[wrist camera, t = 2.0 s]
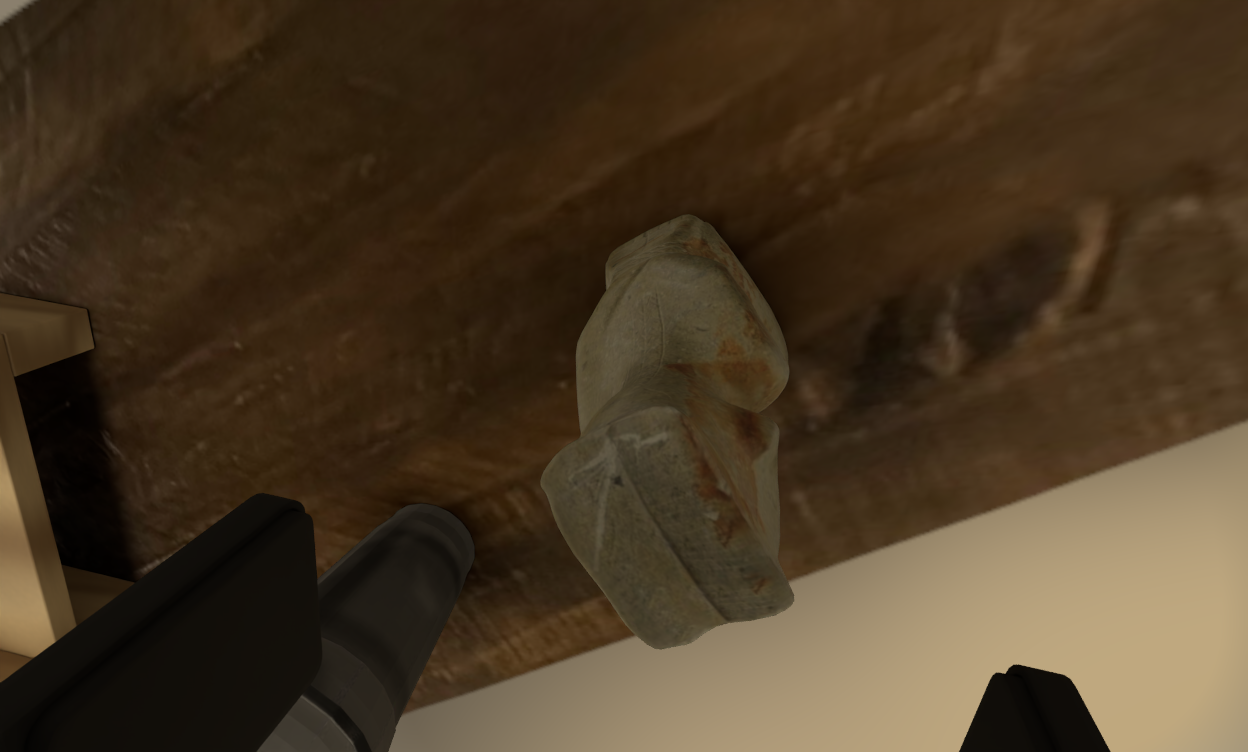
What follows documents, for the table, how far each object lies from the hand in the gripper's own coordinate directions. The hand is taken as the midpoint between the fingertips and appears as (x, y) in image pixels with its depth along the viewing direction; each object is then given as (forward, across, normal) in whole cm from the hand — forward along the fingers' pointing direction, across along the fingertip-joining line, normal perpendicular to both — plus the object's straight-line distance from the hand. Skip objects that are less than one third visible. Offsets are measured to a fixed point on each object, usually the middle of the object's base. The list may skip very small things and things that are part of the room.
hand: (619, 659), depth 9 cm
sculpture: (+18, 0, 0) cm, 18 cm away
